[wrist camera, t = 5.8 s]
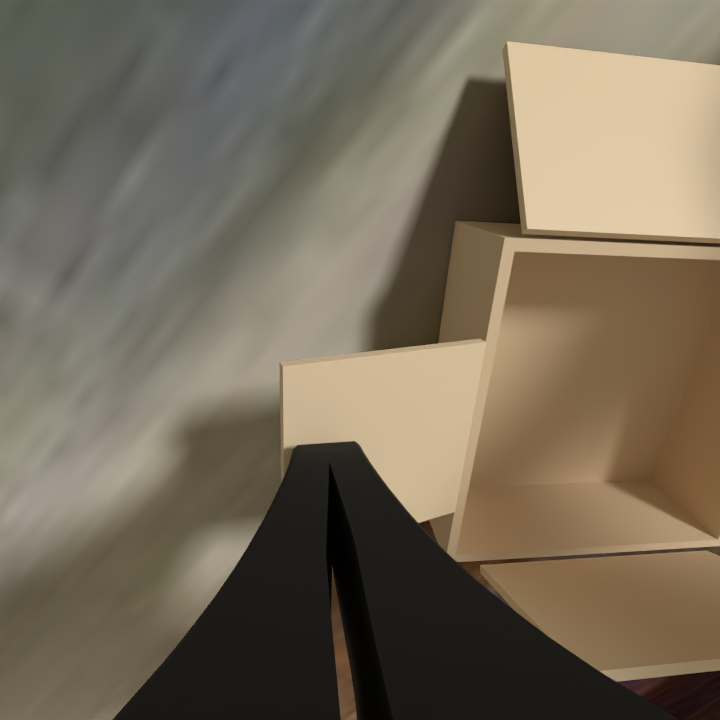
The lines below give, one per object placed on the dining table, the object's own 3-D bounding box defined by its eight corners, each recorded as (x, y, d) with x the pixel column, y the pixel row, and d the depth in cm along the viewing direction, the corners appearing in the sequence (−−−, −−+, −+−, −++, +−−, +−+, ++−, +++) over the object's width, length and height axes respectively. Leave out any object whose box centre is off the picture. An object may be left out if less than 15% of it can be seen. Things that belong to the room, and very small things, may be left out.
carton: (744, 235, 15) (868, 254, 12) (649, 480, 19) (722, 545, 15) (455, 220, 13) (504, 237, 10) (417, 489, 17) (444, 563, 14)
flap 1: (486, 342, 11) (282, 366, 9) (455, 511, 13) (284, 564, 11) (479, 338, 11) (279, 361, 9) (450, 506, 13) (281, 556, 11)
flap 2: (857, 250, 11) (813, 84, 12) (868, 246, 11) (822, 77, 12) (521, 234, 10) (502, 49, 11) (526, 228, 10) (507, 41, 11)
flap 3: (707, 550, 15) (910, 639, 10) (706, 557, 15) (911, 649, 10) (480, 565, 14) (583, 672, 9) (479, 572, 14) (583, 684, 9)
